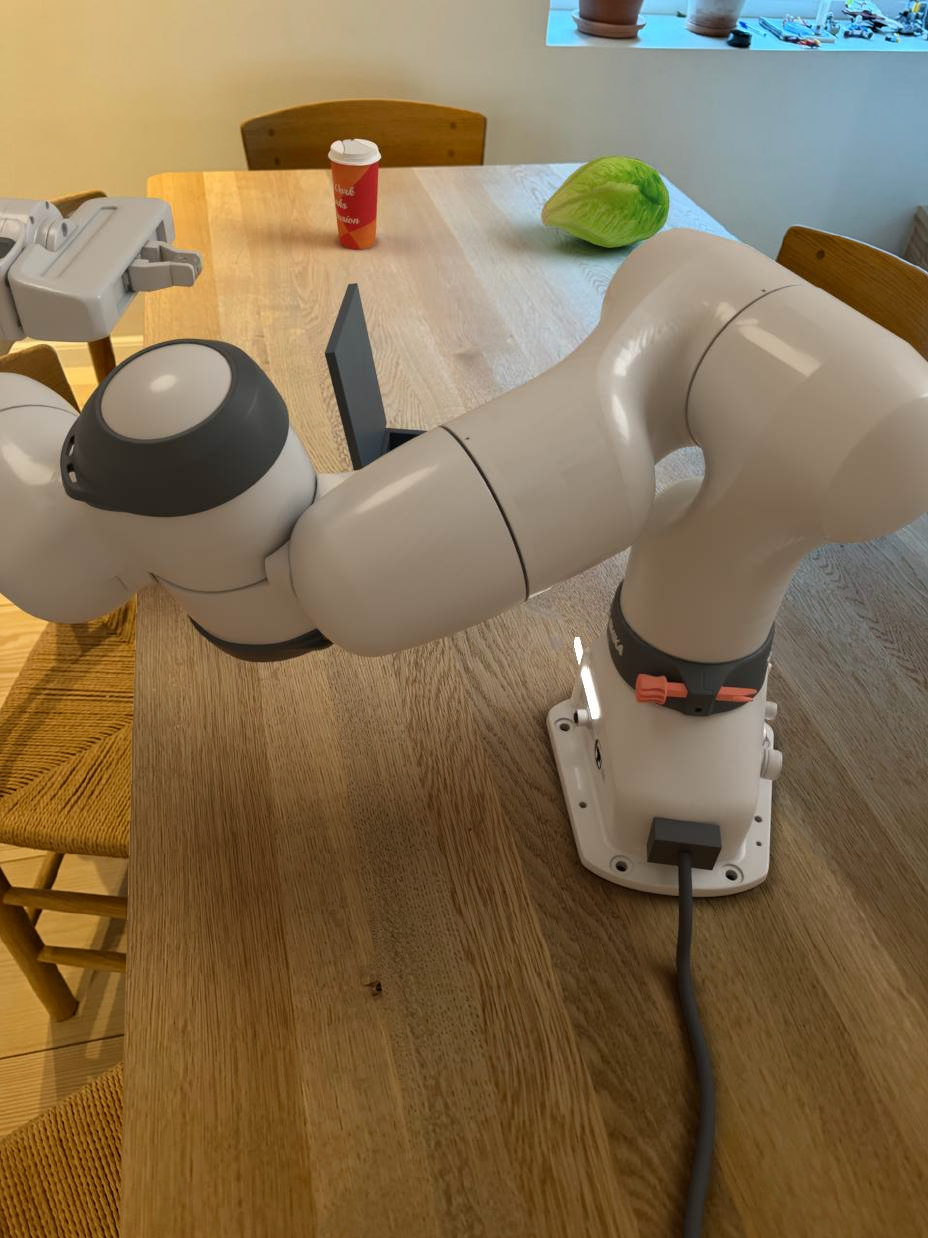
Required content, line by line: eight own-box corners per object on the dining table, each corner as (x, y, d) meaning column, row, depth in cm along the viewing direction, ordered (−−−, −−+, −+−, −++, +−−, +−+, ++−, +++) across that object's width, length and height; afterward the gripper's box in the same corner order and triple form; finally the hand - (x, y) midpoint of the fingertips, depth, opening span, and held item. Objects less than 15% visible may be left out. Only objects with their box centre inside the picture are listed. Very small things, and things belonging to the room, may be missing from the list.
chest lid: (357, 282, 85) (348, 283, 85) (334, 351, 76) (324, 352, 76) (386, 422, 95) (378, 423, 95) (369, 498, 86) (360, 499, 86)
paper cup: (325, 235, 150) (320, 139, 140) (371, 229, 152) (369, 135, 142) (342, 255, 145) (338, 157, 135) (389, 248, 147) (389, 152, 137)
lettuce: (528, 226, 156) (536, 137, 147) (646, 223, 159) (661, 136, 150) (550, 266, 145) (560, 173, 136) (676, 263, 148) (694, 171, 139)
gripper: (84, 243, 89) (232, 253, 88) (-8, 351, 74) (169, 364, 74) (67, 172, 84) (223, 183, 84) (-34, 272, 70) (155, 286, 69)
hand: (198, 269), depth 79 cm, fingers closed
